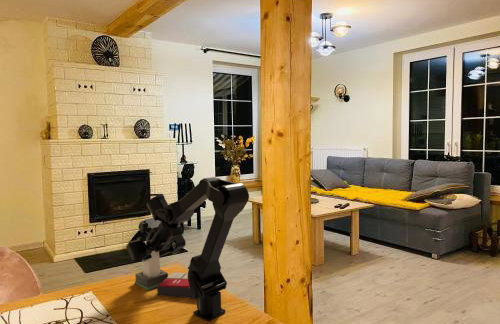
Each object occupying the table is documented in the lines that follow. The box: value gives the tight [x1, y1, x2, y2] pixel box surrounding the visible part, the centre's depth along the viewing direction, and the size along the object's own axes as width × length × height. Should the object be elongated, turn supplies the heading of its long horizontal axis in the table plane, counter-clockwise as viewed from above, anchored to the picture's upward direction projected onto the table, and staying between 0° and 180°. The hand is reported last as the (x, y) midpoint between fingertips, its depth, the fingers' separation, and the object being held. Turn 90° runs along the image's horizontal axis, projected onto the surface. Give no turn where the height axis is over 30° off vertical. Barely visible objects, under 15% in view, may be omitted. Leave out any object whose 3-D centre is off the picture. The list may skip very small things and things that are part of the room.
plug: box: [141, 237, 161, 278], centre depth 122 cm, size 4×4×14 cm
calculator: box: [156, 272, 213, 300], centre depth 117 cm, size 11×4×15 cm
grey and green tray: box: [134, 269, 169, 291], centre depth 123 cm, size 8×8×3 cm
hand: (148, 258), depth 123 cm, fingers closed on plug, 4 cm apart
